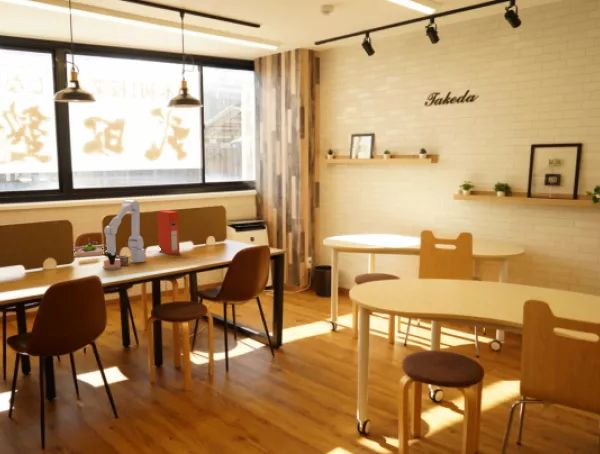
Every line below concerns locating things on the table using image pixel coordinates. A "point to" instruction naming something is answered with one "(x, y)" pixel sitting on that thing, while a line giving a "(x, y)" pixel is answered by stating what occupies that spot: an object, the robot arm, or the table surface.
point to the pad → (112, 268)
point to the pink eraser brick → (108, 265)
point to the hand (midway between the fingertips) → (111, 263)
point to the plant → (90, 248)
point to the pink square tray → (88, 252)
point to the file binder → (168, 231)
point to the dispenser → (123, 259)
